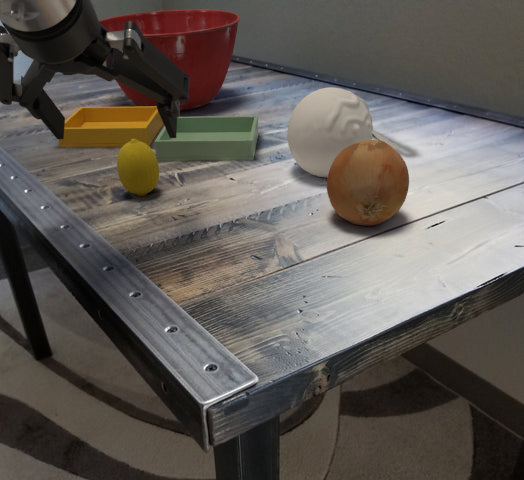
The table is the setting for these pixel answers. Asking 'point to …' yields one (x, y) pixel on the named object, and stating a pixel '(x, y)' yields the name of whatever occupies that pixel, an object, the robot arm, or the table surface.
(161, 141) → the green tray
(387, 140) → the fork
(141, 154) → the lemon
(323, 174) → the decorative ball
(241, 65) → the table surface
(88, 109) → the yellow tray
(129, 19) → the mixing bowl
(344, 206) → the onion
